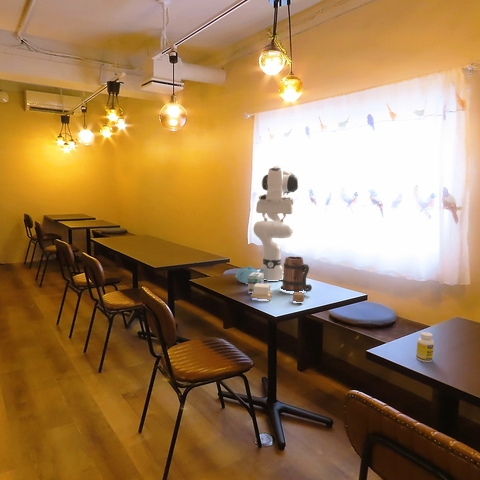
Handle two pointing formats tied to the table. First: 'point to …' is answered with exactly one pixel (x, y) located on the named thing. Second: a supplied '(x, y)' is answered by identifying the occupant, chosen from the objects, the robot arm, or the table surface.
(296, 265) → the tankard
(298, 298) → the walnut block
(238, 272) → the teapot
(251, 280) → the light bulb box
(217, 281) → the table surface
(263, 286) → the off-white middle block
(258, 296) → the oak base block
